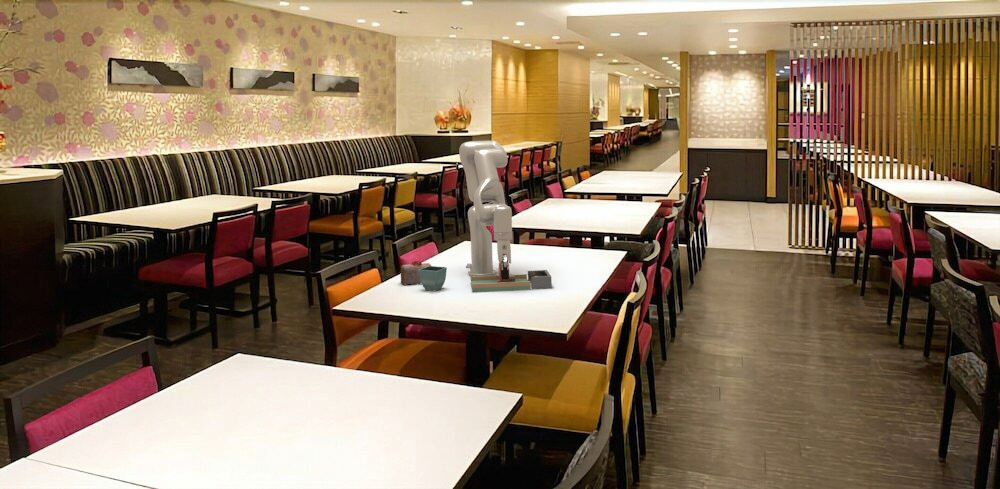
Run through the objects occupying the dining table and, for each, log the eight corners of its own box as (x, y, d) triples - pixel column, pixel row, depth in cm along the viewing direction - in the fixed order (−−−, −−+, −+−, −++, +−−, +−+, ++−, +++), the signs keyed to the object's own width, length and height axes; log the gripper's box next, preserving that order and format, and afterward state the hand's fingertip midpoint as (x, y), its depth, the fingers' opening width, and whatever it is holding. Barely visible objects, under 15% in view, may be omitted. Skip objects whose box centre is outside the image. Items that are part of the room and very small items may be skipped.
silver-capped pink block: (497, 283, 314) (497, 264, 313) (496, 281, 319) (496, 262, 317) (515, 283, 315) (514, 264, 314) (514, 280, 319) (513, 262, 318)
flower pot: (448, 287, 318) (447, 266, 317) (437, 292, 310) (436, 271, 309) (429, 286, 322) (429, 265, 320) (419, 290, 314) (418, 269, 312)
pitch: (472, 292, 309) (472, 284, 308) (470, 284, 324) (470, 276, 323) (530, 289, 311) (530, 281, 310) (526, 281, 325) (526, 274, 325)
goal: (531, 289, 311) (531, 277, 311) (528, 282, 325) (527, 270, 324) (551, 288, 312) (551, 276, 311) (546, 281, 325) (546, 269, 324)
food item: (429, 279, 335) (428, 257, 334) (435, 283, 328) (434, 260, 327) (399, 283, 330) (398, 261, 328) (405, 286, 323) (404, 264, 321)
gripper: (514, 238, 305) (515, 281, 308) (510, 232, 322) (511, 272, 325) (495, 239, 305) (496, 281, 308) (492, 233, 322) (493, 273, 325)
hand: (504, 276), depth 316 cm, fingers open, 8 cm apart
